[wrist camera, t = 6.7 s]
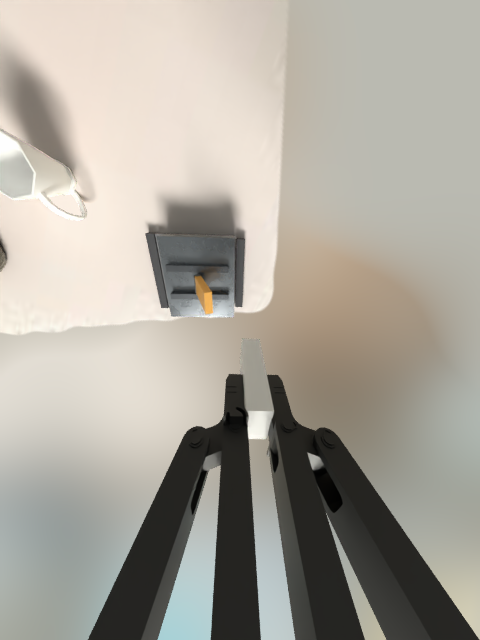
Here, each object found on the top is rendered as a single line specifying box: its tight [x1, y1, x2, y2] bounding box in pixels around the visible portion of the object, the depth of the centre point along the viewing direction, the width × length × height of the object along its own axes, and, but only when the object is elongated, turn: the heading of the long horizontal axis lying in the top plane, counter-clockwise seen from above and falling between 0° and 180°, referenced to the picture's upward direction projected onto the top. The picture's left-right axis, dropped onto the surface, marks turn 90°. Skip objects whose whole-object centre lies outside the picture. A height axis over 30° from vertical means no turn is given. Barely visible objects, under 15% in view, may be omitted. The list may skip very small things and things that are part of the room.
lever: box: [194, 274, 213, 314], centre depth 26 cm, size 3×1×9 cm, turn 178°
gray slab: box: [145, 233, 170, 308], centre depth 34 cm, size 14×3×1 cm, turn 178°
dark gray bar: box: [235, 239, 245, 307], centre depth 35 cm, size 13×1×1 cm, turn 178°
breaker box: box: [156, 233, 235, 317], centre depth 32 cm, size 14×12×6 cm
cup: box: [0, 129, 87, 221], centre depth 24 cm, size 7×10×8 cm
